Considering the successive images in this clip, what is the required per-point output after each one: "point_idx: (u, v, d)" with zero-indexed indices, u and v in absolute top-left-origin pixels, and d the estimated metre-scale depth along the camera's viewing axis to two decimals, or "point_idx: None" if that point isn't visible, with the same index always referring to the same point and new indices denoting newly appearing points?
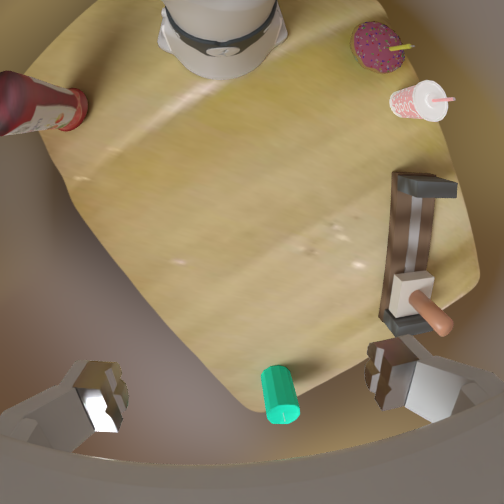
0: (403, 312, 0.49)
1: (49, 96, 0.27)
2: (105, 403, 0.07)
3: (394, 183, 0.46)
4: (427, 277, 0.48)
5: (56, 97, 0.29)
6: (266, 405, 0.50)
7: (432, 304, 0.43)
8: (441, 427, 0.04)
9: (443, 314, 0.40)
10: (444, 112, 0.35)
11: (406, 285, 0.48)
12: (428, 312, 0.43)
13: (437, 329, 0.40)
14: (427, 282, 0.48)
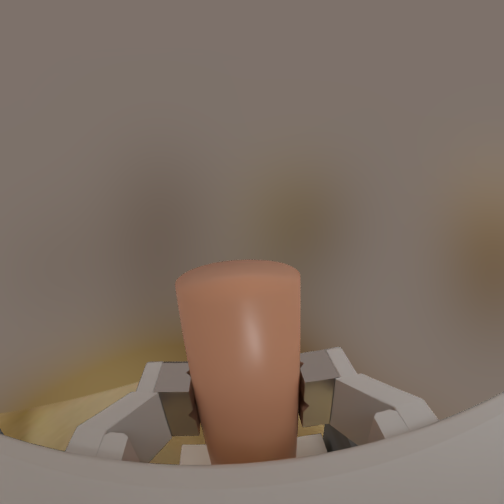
0: None
1: None
2: (191, 406, 0.07)
3: None
4: None
5: None
6: None
7: None
8: (441, 427, 0.04)
9: None
10: None
11: None
12: (221, 432, 0.07)
13: (249, 323, 0.06)
14: None
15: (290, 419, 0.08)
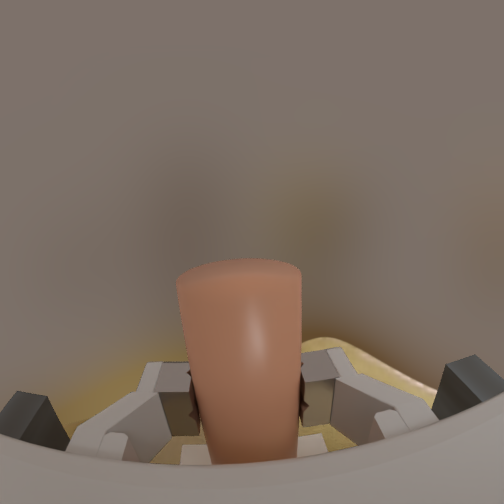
0: None
1: None
2: (191, 406, 0.07)
3: None
4: None
5: None
6: None
7: None
8: (441, 427, 0.04)
9: None
10: None
11: None
12: (222, 432, 0.07)
13: (250, 322, 0.06)
14: None
15: (291, 418, 0.08)
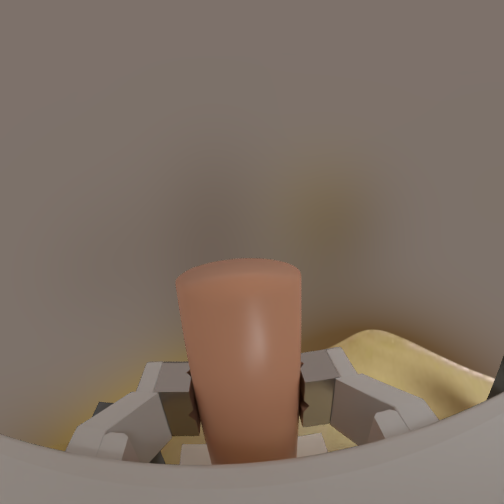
0: None
1: None
2: (192, 406, 0.07)
3: None
4: None
5: None
6: None
7: None
8: (441, 427, 0.04)
9: None
10: None
11: None
12: (222, 432, 0.07)
13: (250, 322, 0.06)
14: None
15: (291, 418, 0.08)
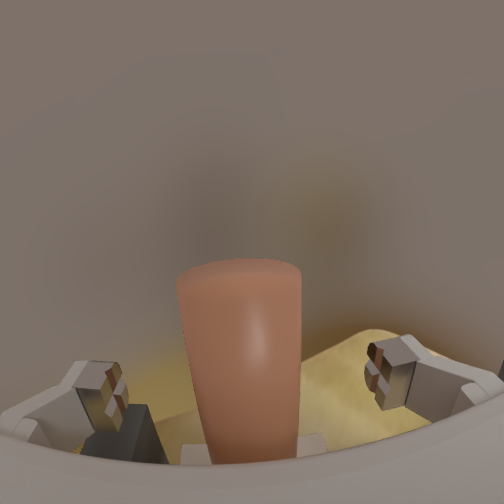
0: None
1: None
2: (105, 403, 0.07)
3: None
4: None
5: None
6: None
7: None
8: (441, 427, 0.04)
9: None
10: None
11: None
12: (222, 432, 0.07)
13: (250, 322, 0.06)
14: None
15: (291, 418, 0.08)
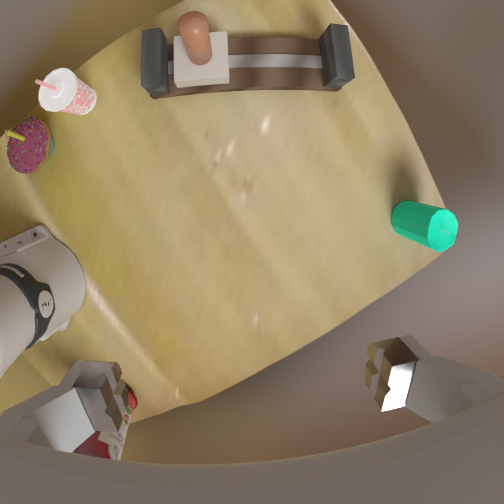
0: (221, 67, 0.35)
1: None
2: (105, 403, 0.07)
3: (164, 96, 0.39)
4: (174, 46, 0.34)
5: None
6: (429, 247, 0.40)
7: None
8: (441, 427, 0.04)
9: None
10: (66, 71, 0.30)
11: (180, 74, 0.35)
12: (189, 47, 0.28)
13: (194, 36, 0.25)
14: (179, 45, 0.33)
15: (206, 43, 0.28)
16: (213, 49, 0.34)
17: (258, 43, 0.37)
